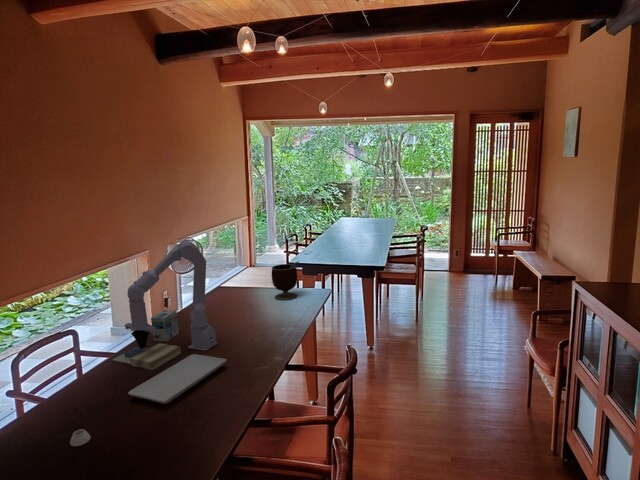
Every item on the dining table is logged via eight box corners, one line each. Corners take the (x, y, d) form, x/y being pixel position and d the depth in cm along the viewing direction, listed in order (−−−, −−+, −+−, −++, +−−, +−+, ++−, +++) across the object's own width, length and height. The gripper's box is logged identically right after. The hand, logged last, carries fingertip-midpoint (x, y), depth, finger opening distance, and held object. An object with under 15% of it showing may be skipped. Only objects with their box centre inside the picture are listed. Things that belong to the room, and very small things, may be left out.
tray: (127, 401, 147) (125, 391, 147) (193, 361, 175) (192, 352, 174) (166, 411, 140) (164, 401, 139) (229, 367, 167) (228, 359, 167)
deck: (180, 353, 182) (179, 346, 181) (152, 370, 169) (151, 362, 168) (160, 350, 187) (159, 343, 186) (131, 365, 173) (130, 358, 173)
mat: (157, 350, 186) (157, 350, 186) (132, 364, 174) (132, 363, 174) (137, 347, 191) (137, 346, 191) (111, 360, 179) (111, 359, 179)
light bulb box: (167, 342, 195) (164, 318, 193) (153, 341, 196) (150, 317, 194) (179, 332, 205) (177, 309, 203) (166, 332, 206) (163, 309, 205)
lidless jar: (85, 446, 124) (93, 435, 129) (83, 437, 124) (92, 426, 128) (67, 448, 124) (76, 437, 129) (65, 438, 123) (74, 427, 128)
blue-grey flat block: (151, 353, 183) (150, 348, 182) (139, 359, 177) (139, 355, 177) (136, 351, 186) (136, 346, 186) (124, 357, 181) (124, 352, 181)
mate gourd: (270, 301, 243) (267, 264, 240) (277, 293, 257) (274, 258, 253) (298, 301, 241) (296, 264, 237) (303, 293, 254) (301, 258, 251)
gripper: (117, 316, 177) (121, 349, 179) (144, 320, 171) (148, 354, 173) (131, 310, 183) (135, 342, 185) (158, 314, 177) (162, 347, 179)
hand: (143, 347), depth 180 cm, fingers closed
